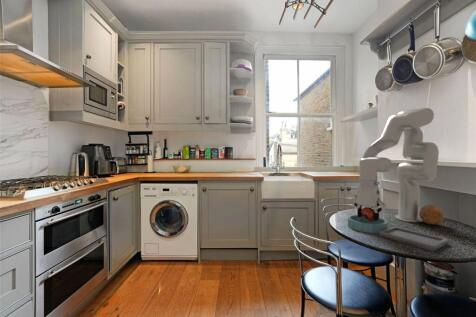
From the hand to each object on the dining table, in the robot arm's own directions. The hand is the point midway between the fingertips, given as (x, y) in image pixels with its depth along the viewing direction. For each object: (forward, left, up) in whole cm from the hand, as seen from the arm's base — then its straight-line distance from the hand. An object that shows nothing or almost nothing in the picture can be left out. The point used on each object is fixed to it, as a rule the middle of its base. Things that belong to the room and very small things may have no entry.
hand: (367, 218), depth 122 cm
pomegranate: (0, 0, -2) cm, 2 cm away
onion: (-31, +15, -5) cm, 35 cm away
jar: (-18, -13, -5) cm, 23 cm away
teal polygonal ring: (+1, 0, -4) cm, 4 cm away
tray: (+2, +20, -4) cm, 20 cm away
